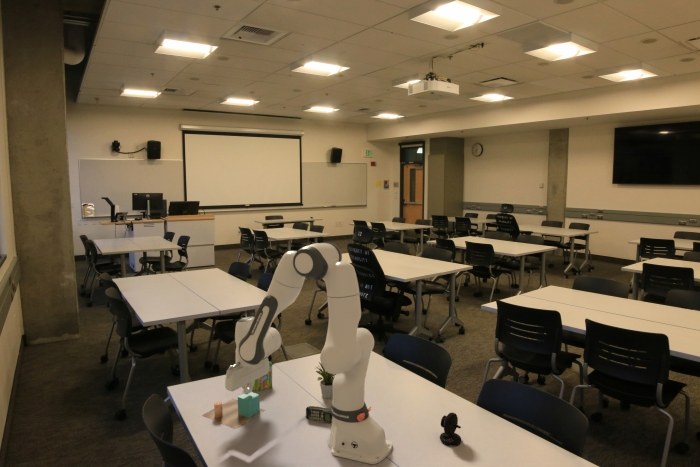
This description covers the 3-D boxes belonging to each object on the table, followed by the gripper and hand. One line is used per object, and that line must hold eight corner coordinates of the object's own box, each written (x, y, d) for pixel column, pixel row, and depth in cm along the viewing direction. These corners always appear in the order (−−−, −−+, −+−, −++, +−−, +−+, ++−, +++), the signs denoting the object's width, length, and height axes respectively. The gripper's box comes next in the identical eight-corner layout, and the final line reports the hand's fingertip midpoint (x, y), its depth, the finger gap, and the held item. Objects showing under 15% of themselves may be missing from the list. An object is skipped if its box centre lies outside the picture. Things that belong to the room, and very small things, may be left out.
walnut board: (265, 413, 176) (265, 410, 176) (235, 432, 163) (235, 428, 162) (233, 402, 185) (233, 398, 185) (201, 419, 172) (201, 415, 172)
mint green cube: (259, 411, 175) (259, 394, 174) (249, 418, 170) (248, 400, 169) (248, 407, 178) (248, 390, 177) (238, 414, 173) (237, 396, 172)
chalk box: (243, 390, 196) (242, 357, 195) (257, 382, 204) (256, 350, 203) (260, 394, 192) (259, 361, 190) (273, 386, 200) (272, 354, 198)
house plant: (329, 409, 180) (329, 370, 178) (303, 399, 188) (303, 361, 186) (350, 395, 191) (350, 359, 189) (325, 387, 199) (325, 351, 197)
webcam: (445, 432, 163) (446, 405, 162) (465, 439, 159) (465, 412, 157) (435, 441, 157) (436, 414, 156) (455, 449, 153) (455, 421, 151)
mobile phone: (304, 408, 171) (342, 412, 167) (307, 404, 174) (344, 409, 170) (305, 420, 172) (342, 425, 168) (308, 416, 175) (344, 421, 170)
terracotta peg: (224, 415, 172) (224, 403, 171) (218, 419, 169) (217, 406, 169) (219, 413, 173) (218, 401, 173) (212, 416, 171) (212, 404, 170)
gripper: (232, 369, 161) (233, 406, 162) (271, 351, 178) (271, 385, 180) (220, 365, 164) (221, 401, 166) (259, 348, 182) (260, 381, 183)
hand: (248, 392), depth 173 cm, fingers closed
